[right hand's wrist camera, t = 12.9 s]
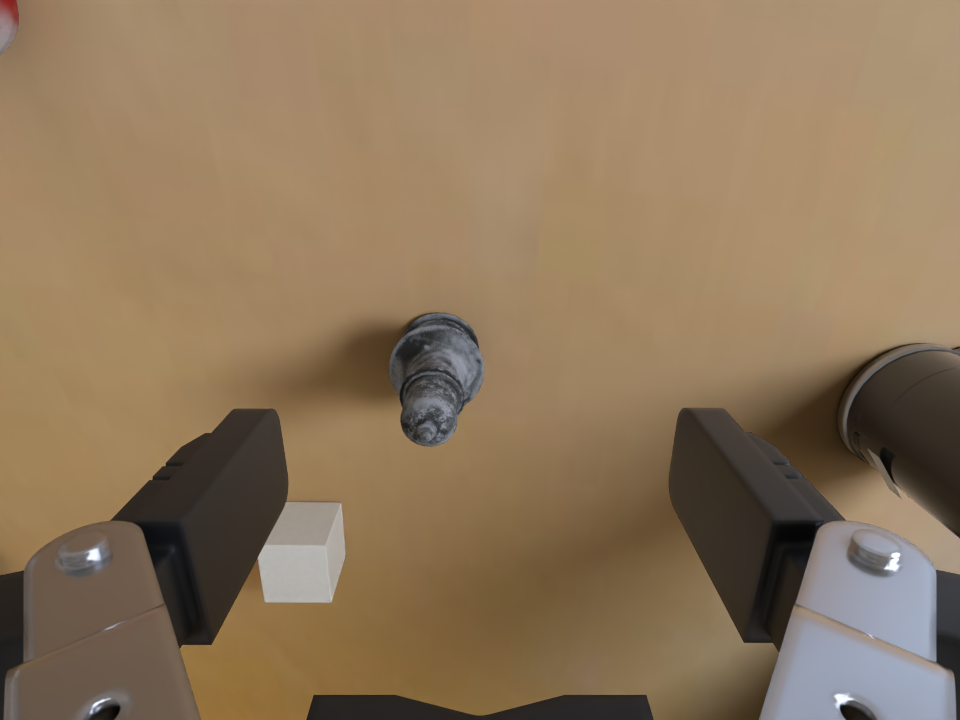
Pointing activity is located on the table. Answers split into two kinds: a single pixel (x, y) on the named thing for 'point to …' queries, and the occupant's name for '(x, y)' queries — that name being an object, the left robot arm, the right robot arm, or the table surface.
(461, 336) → the grey tall turned piece
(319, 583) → the white cube
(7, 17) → the eyeball
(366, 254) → the table surface
